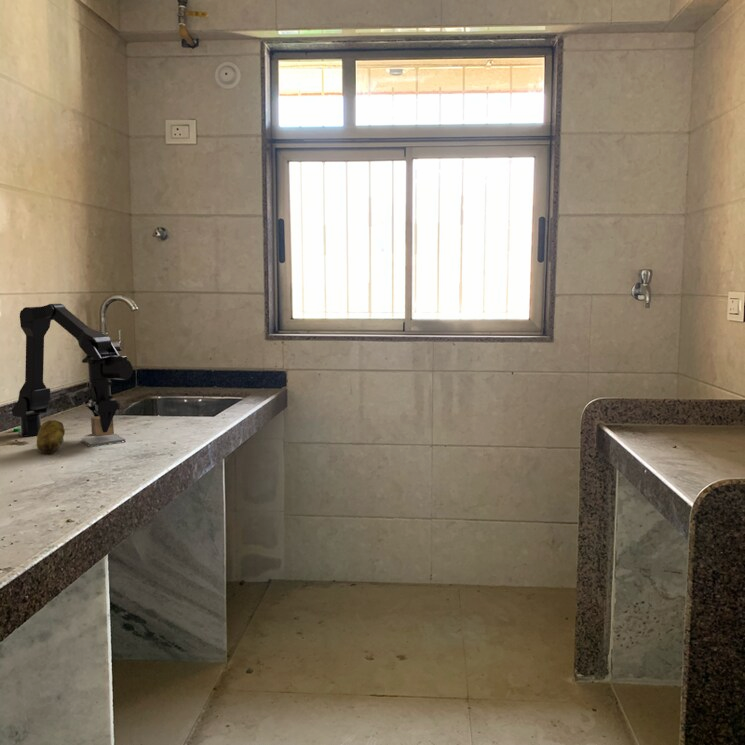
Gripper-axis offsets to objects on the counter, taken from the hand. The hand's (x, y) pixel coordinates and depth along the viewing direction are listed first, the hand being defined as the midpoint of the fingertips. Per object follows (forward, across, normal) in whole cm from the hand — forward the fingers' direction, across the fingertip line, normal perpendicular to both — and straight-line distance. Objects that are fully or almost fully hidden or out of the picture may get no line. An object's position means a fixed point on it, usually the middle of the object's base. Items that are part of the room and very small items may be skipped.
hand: (102, 430), depth 211 cm
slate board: (+3, 0, 0) cm, 3 cm away
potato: (+3, +3, -15) cm, 16 cm away
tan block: (+1, 0, 0) cm, 1 cm away
